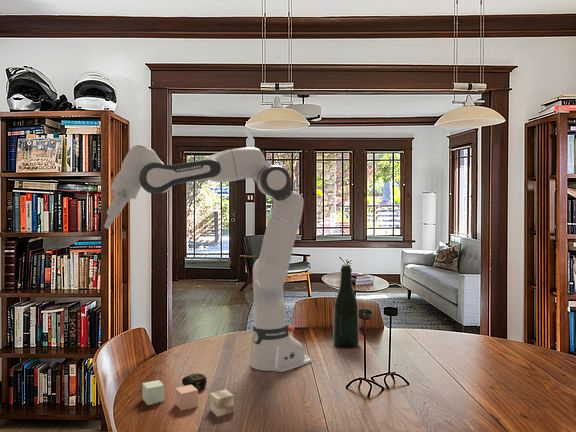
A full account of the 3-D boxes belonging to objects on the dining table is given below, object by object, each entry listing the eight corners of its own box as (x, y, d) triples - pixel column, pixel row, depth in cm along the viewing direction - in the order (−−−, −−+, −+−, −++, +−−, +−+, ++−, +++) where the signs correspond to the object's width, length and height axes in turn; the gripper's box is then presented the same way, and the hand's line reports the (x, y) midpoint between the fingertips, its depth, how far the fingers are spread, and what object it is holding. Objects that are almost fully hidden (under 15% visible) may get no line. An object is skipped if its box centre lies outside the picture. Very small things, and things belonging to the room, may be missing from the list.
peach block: (191, 400, 148) (191, 384, 148) (198, 407, 144) (197, 390, 143) (175, 404, 145) (175, 388, 145) (181, 411, 141) (181, 393, 141)
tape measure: (181, 387, 159) (181, 375, 159) (201, 382, 163) (201, 371, 163) (189, 394, 153) (189, 382, 153) (210, 389, 157) (210, 377, 157)
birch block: (226, 406, 144) (225, 389, 144) (233, 412, 140) (233, 395, 140) (210, 410, 141) (210, 393, 141) (217, 416, 137) (217, 399, 137)
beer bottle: (341, 339, 210) (341, 262, 208) (363, 344, 203) (363, 264, 202) (328, 346, 201) (328, 265, 200) (351, 350, 195) (351, 267, 194)
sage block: (158, 395, 152) (158, 379, 151) (164, 401, 148) (164, 385, 147) (142, 399, 149) (142, 383, 149) (147, 405, 145) (147, 388, 145)
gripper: (133, 195, 160) (114, 233, 159) (134, 191, 179) (117, 226, 179) (114, 186, 158) (95, 225, 157) (117, 184, 177) (100, 219, 177)
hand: (107, 226), depth 168 cm, fingers open, 8 cm apart
